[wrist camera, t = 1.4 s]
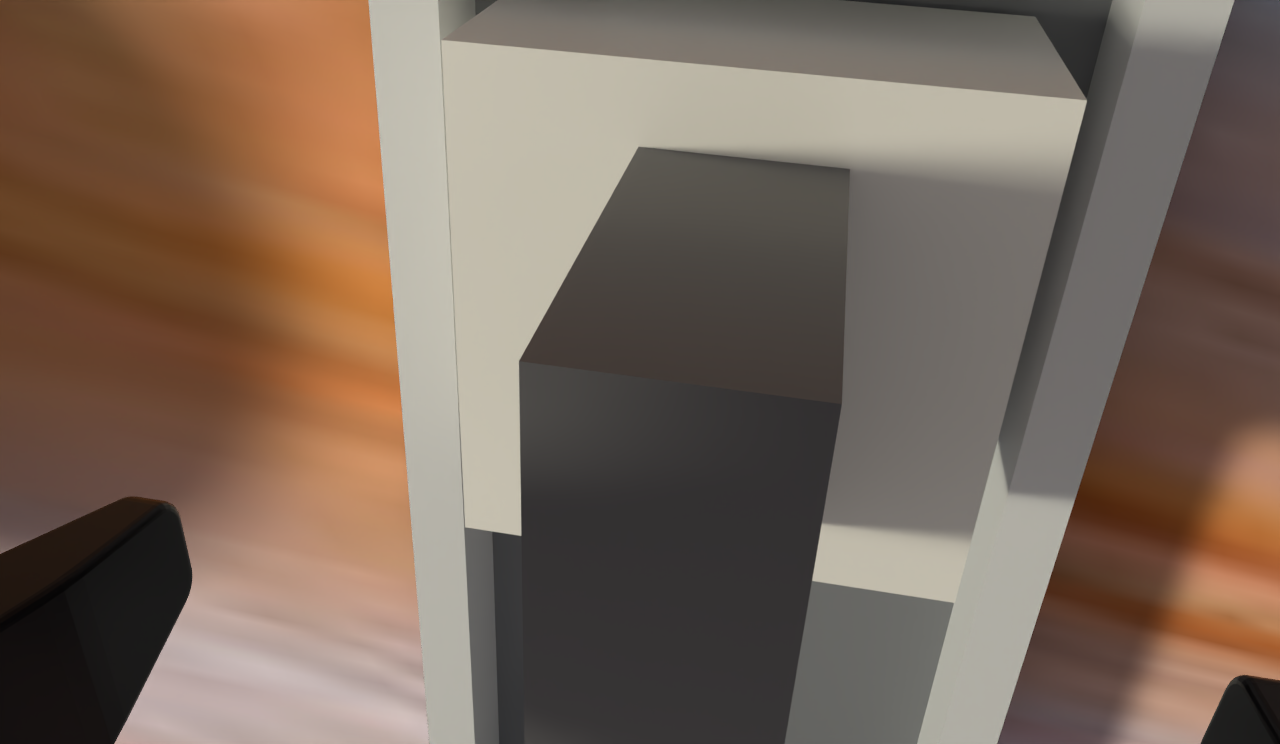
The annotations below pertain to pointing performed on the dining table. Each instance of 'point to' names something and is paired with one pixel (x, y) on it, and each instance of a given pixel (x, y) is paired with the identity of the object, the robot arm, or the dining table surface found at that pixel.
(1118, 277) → the rail track
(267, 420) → the dining table surface
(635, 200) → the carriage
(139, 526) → the robot arm
